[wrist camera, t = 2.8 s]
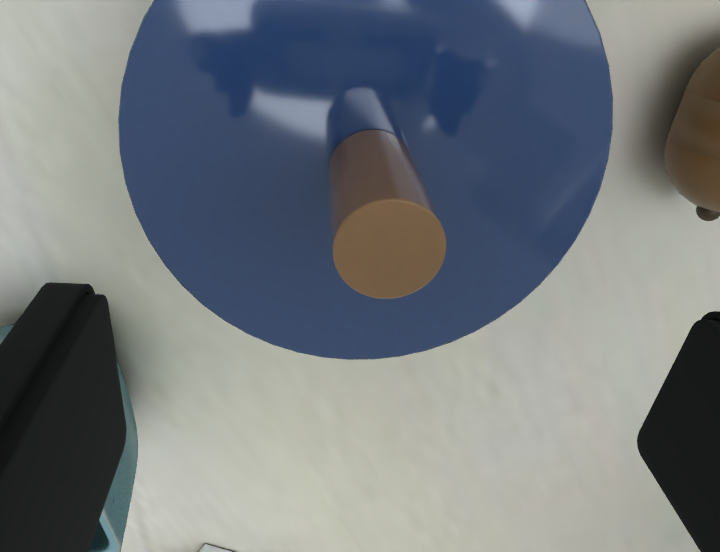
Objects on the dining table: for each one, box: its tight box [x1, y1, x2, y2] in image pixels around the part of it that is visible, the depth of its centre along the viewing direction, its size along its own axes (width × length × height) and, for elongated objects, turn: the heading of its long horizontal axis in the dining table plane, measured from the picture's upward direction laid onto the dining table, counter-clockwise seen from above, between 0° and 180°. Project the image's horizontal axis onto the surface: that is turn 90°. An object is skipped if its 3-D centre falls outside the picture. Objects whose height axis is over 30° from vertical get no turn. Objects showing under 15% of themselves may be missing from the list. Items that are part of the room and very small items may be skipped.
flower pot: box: [0, 325, 138, 552], centre depth 27 cm, size 9×9×9 cm
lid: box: [118, 0, 613, 360], centre depth 16 cm, size 15×15×6 cm
